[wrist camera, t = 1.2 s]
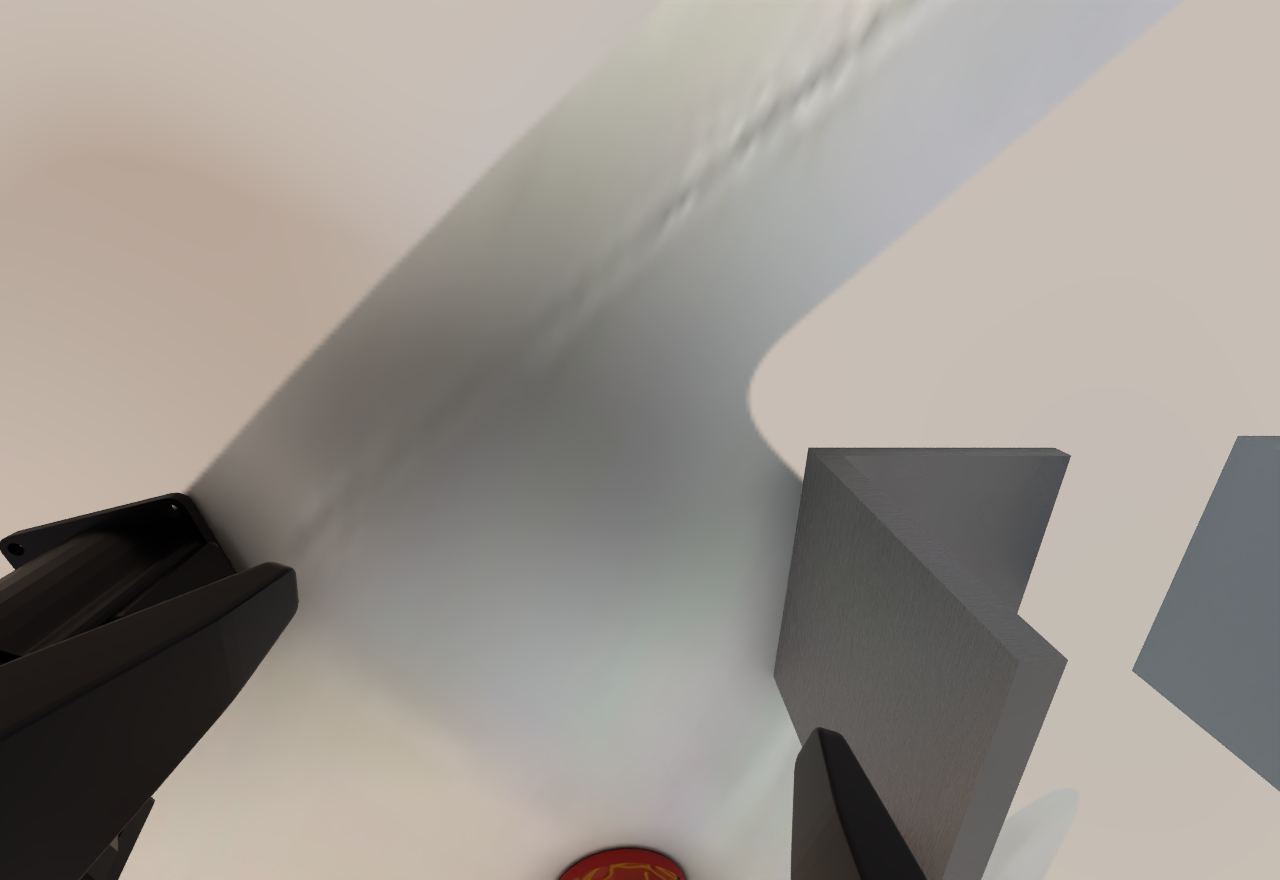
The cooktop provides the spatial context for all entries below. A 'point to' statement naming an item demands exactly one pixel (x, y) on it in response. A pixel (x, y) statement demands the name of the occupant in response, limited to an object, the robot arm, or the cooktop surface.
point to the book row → (1228, 614)
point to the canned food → (625, 867)
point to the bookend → (923, 632)
